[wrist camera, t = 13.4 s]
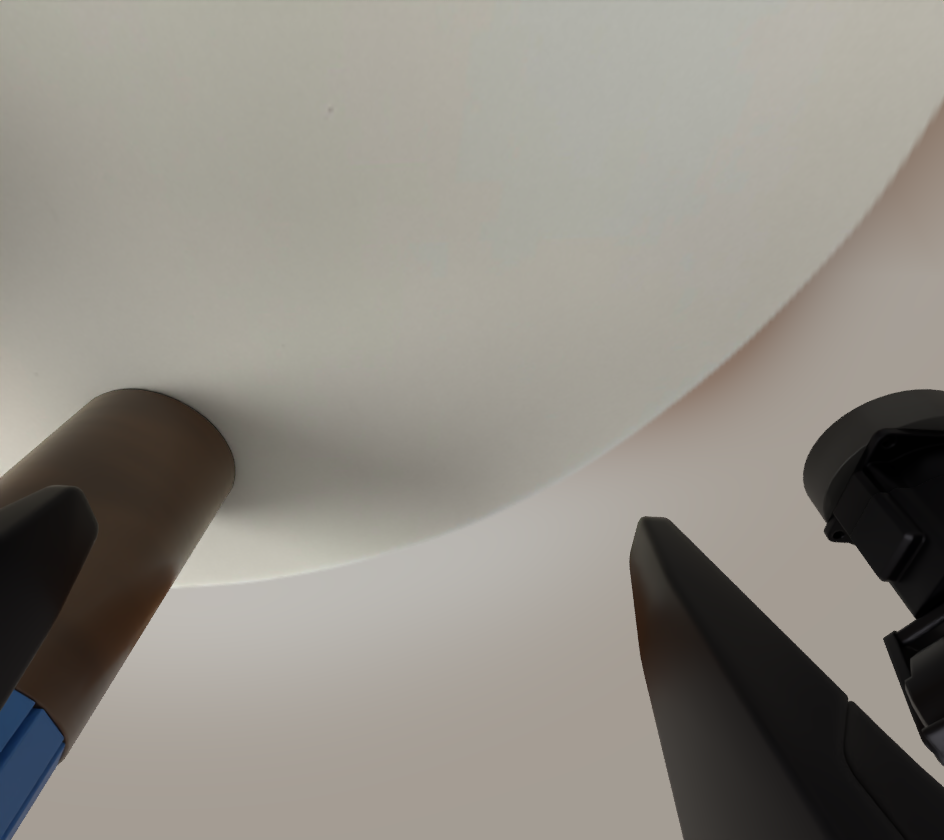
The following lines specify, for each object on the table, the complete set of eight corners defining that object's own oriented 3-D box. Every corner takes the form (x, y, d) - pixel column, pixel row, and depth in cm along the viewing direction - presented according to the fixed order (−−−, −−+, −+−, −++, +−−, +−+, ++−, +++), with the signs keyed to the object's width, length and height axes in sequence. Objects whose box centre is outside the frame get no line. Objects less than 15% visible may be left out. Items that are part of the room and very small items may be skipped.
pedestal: (216, 392, 22) (3, 647, 13) (248, 515, 26) (102, 784, 16) (52, 384, 22) (-278, 630, 13) (107, 508, 26) (-118, 770, 16)
